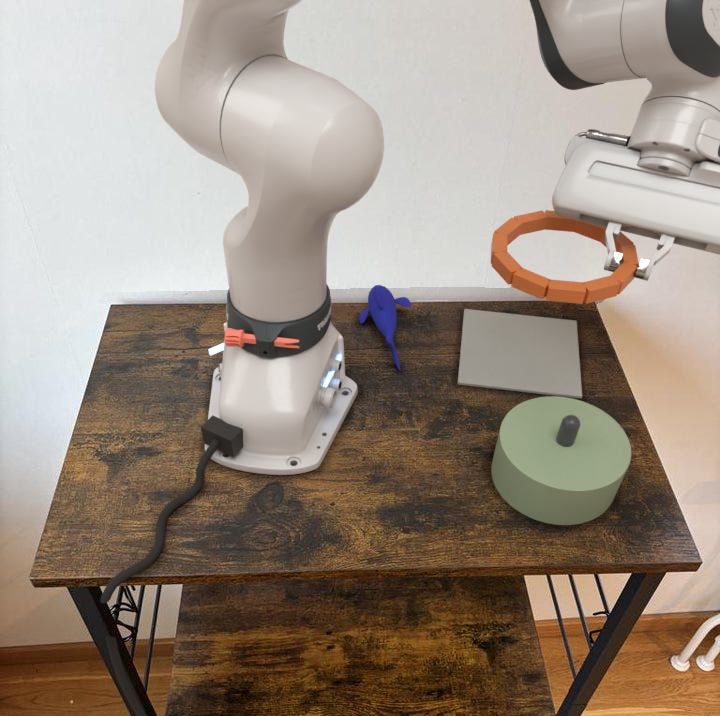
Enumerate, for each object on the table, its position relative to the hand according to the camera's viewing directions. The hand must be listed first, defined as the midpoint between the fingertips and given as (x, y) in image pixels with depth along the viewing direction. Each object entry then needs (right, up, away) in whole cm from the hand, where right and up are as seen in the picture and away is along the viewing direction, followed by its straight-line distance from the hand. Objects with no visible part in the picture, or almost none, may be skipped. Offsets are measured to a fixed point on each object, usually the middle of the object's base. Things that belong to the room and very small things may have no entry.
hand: (625, 274), depth 79 cm
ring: (-6, +2, +3) cm, 7 cm away
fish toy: (-25, -3, +23) cm, 34 cm away
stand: (-6, -22, +7) cm, 23 cm away
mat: (-7, -5, +21) cm, 23 cm away
